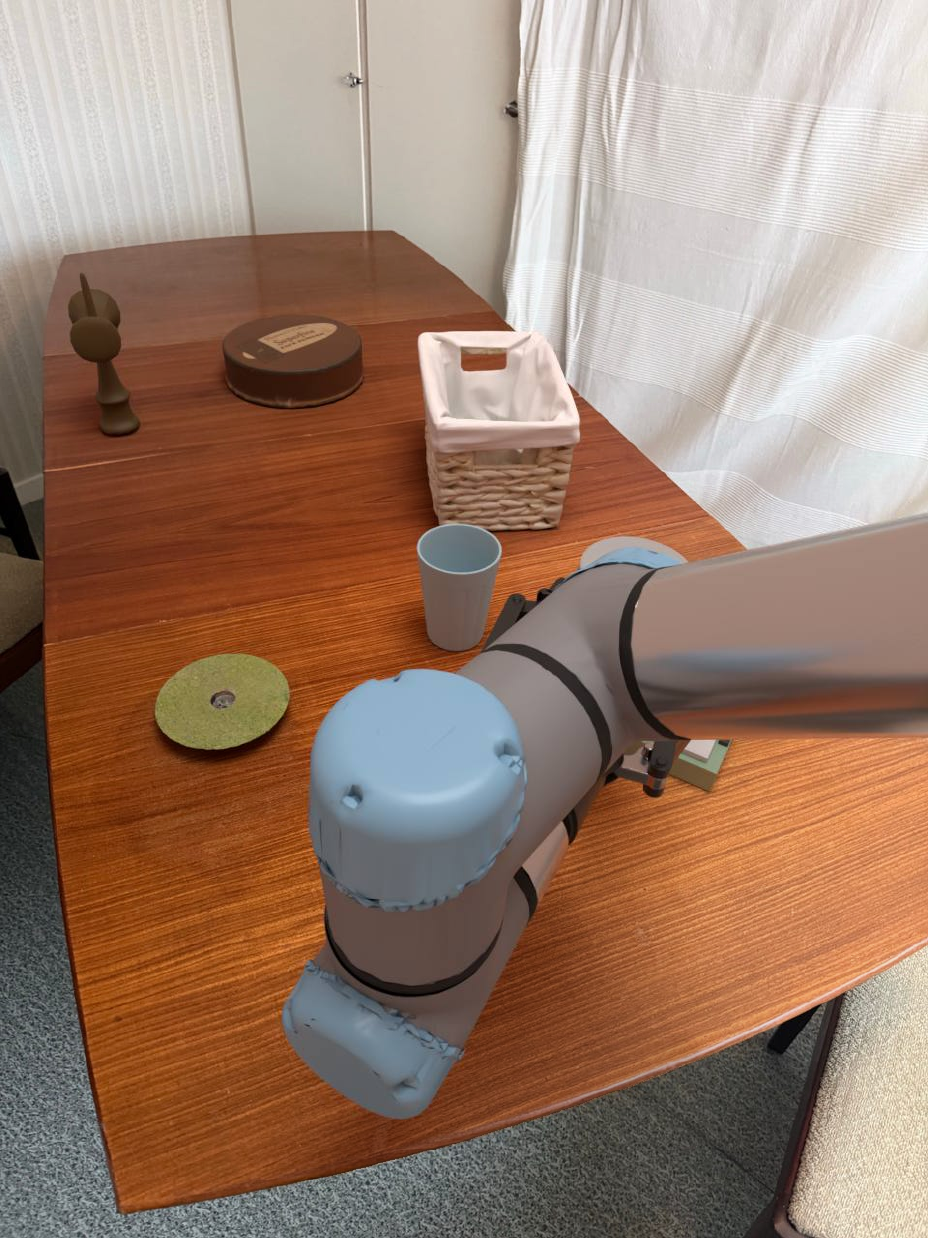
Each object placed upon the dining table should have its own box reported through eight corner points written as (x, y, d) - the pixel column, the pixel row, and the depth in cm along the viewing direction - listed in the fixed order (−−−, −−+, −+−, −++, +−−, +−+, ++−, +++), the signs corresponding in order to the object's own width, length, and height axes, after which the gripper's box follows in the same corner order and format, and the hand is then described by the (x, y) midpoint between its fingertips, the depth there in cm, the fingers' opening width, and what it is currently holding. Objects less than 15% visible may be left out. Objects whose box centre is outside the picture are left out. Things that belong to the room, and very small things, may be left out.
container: (282, 423, 112) (277, 380, 108) (199, 375, 122) (192, 334, 118) (391, 380, 123) (391, 340, 119) (307, 339, 133) (304, 300, 129)
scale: (748, 701, 76) (757, 678, 74) (710, 792, 68) (719, 769, 66) (626, 654, 81) (632, 631, 79) (576, 734, 73) (581, 710, 71)
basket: (569, 538, 95) (587, 420, 85) (428, 542, 93) (429, 422, 83) (534, 435, 113) (546, 328, 103) (415, 436, 111) (415, 328, 101)
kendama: (142, 409, 114) (107, 257, 100) (146, 442, 107) (110, 284, 94) (96, 414, 112) (54, 260, 99) (97, 448, 105) (53, 288, 92)
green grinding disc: (308, 678, 76) (306, 663, 75) (264, 774, 68) (261, 759, 67) (192, 659, 77) (189, 644, 76) (135, 751, 69) (130, 735, 68)
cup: (399, 631, 82) (399, 545, 75) (454, 597, 86) (458, 513, 79) (454, 671, 78) (459, 584, 71) (508, 633, 82) (518, 548, 75)
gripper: (352, 775, 51) (517, 579, 66) (679, 937, 44) (778, 674, 59) (346, 689, 46) (526, 498, 61) (713, 856, 39) (812, 592, 54)
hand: (650, 585), depth 60 cm, fingers closed on canned food, 8 cm apart
